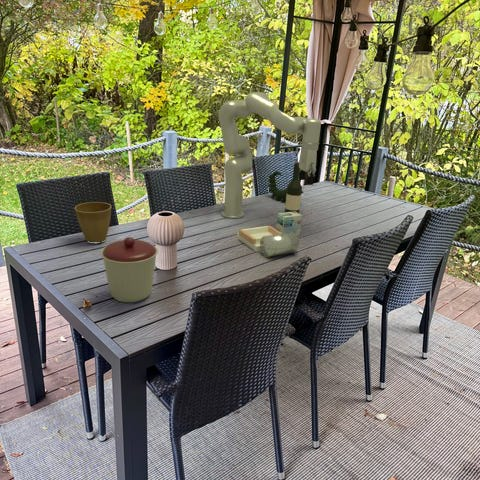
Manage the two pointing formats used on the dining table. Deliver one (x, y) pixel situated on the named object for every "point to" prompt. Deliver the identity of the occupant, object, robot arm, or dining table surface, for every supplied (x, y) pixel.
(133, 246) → the canister
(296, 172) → the wine bottle
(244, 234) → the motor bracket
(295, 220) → the light bulb box
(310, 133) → the robot arm
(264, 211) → the dining table surface
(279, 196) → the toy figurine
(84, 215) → the plant pot
